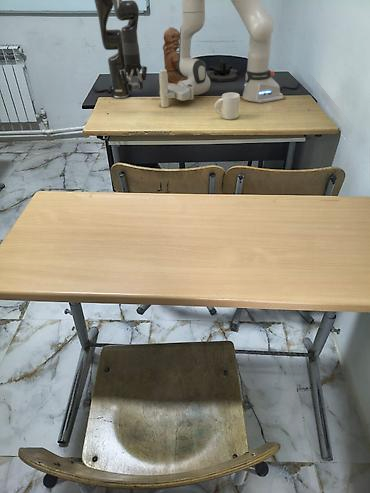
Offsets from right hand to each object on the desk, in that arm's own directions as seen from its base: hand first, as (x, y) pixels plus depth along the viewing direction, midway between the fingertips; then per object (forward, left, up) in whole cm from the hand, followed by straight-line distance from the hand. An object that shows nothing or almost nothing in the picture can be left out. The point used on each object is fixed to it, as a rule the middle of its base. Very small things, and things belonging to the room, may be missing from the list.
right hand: (162, 94), depth 188 cm
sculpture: (-15, -41, -6) cm, 44 cm away
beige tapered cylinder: (-1, 0, -6) cm, 6 cm away
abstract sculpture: (-44, -44, -6) cm, 63 cm away
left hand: (+14, +7, +5) cm, 17 cm away
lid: (+14, +7, +8) cm, 18 cm away
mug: (-28, +24, -6) cm, 37 cm away
